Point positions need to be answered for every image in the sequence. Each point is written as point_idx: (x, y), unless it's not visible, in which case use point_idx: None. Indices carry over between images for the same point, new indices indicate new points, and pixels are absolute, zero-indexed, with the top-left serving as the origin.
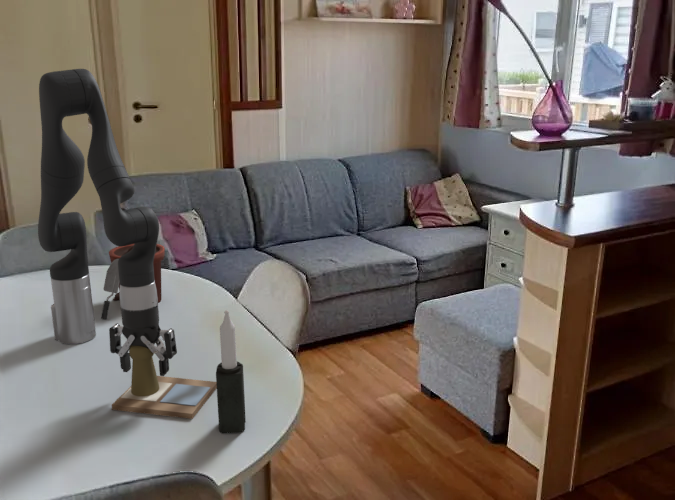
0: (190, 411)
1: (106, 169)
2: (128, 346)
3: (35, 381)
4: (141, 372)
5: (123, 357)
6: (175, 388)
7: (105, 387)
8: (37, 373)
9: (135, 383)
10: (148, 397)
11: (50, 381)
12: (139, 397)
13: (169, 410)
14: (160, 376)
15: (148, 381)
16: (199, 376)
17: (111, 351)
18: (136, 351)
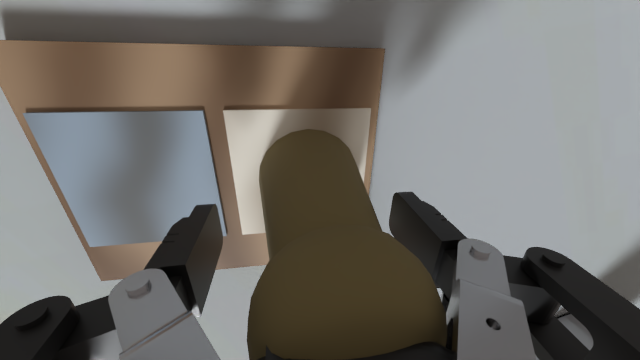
0: (4, 59)
1: None
2: (466, 321)
3: (635, 163)
4: (304, 183)
5: (448, 240)
6: None
7: (446, 181)
8: (630, 199)
9: (330, 152)
10: (267, 129)
11: (597, 172)
12: (301, 121)
13: (112, 48)
14: None
15: (275, 173)
16: (211, 295)
17: (555, 255)
18: (357, 283)
